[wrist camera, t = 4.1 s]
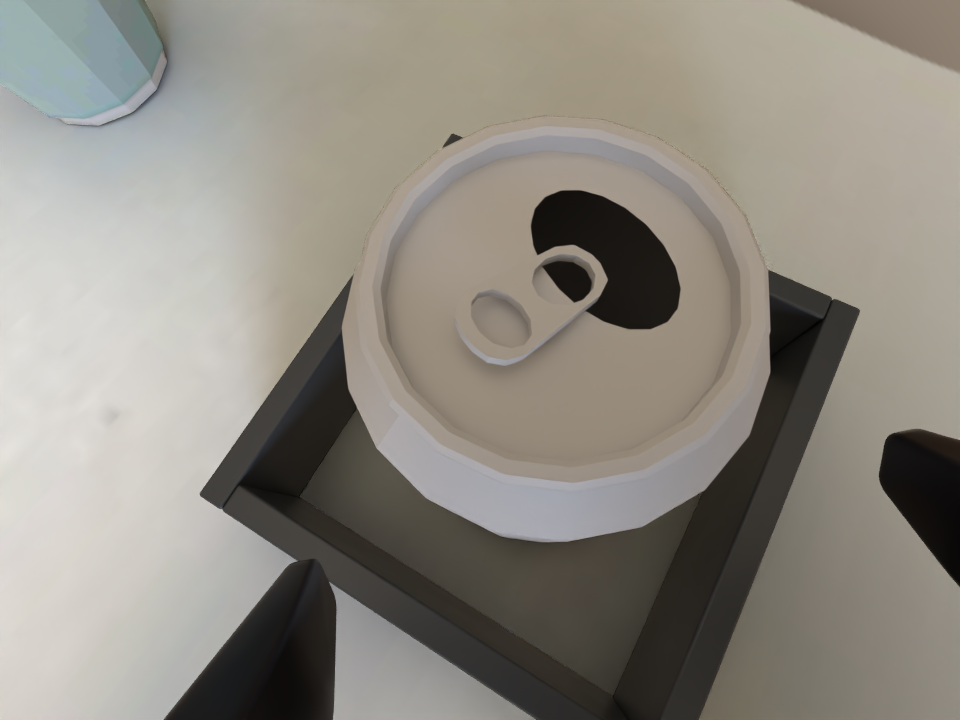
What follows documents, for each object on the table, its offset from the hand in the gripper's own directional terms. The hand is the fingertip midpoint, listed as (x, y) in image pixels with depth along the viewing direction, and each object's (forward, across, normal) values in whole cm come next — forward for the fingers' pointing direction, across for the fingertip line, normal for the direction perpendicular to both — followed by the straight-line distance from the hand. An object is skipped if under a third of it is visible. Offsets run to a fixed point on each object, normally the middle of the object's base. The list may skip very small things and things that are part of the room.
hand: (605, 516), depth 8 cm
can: (+10, 0, +5) cm, 11 cm away
